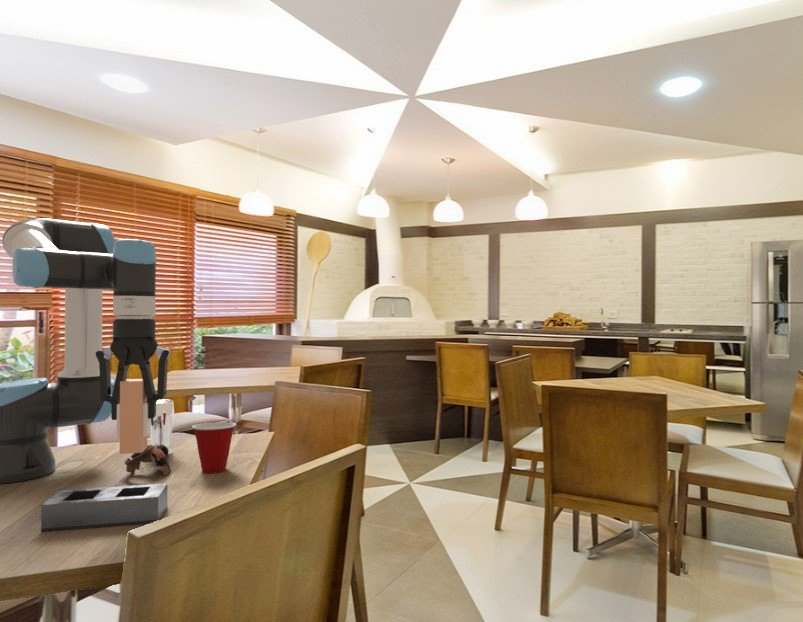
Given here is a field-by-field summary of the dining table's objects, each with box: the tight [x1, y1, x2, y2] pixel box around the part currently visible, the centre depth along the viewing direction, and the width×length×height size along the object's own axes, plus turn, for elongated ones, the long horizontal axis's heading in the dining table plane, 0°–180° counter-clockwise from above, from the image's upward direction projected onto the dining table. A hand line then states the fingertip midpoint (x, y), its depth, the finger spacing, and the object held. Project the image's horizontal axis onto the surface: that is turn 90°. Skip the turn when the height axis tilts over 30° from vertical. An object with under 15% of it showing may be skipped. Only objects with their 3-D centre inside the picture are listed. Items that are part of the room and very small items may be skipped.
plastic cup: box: [191, 421, 237, 474], centre depth 132 cm, size 11×11×12 cm
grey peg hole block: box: [40, 482, 168, 533], centre depth 101 cm, size 20×8×5 cm, turn 103°
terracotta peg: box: [119, 378, 148, 455], centre depth 102 cm, size 4×4×14 cm
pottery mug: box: [124, 444, 172, 477], centre depth 130 cm, size 12×10×8 cm
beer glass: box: [149, 399, 175, 457], centre depth 147 cm, size 7×7×15 cm
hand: (133, 435), depth 102 cm, fingers closed on terracotta peg, 4 cm apart
